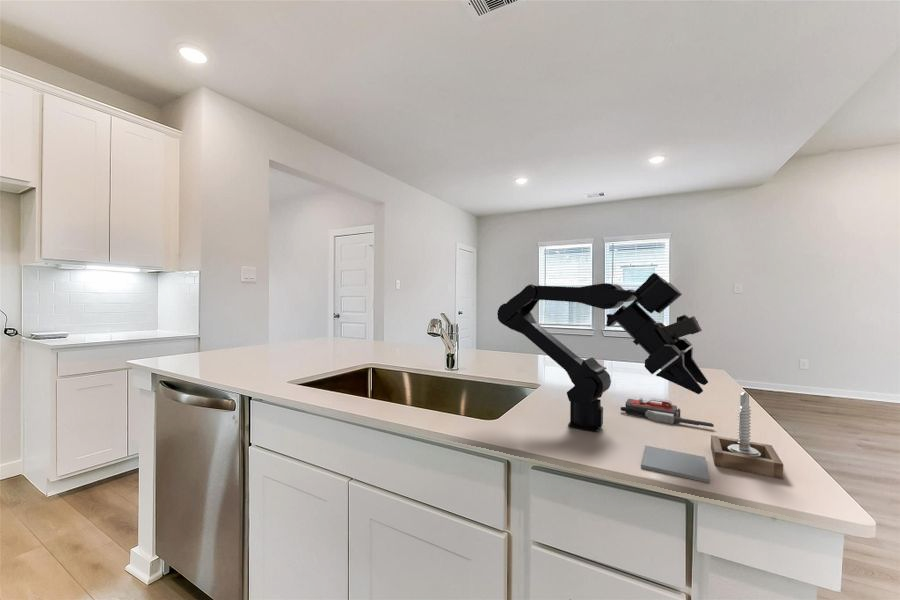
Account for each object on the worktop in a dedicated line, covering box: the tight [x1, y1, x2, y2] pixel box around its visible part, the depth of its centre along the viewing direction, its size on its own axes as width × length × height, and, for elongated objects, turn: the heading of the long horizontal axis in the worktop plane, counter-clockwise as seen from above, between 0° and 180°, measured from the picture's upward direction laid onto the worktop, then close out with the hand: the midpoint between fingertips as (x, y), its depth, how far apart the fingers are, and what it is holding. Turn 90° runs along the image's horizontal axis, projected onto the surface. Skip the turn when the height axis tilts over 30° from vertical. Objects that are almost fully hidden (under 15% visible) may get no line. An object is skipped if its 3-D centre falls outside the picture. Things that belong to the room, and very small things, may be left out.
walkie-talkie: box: [620, 397, 715, 428], centre depth 94 cm, size 9×4×20 cm
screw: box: [728, 391, 761, 457], centre depth 69 cm, size 13×5×5 cm
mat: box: [640, 444, 710, 484], centre depth 68 cm, size 10×10×1 cm
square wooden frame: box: [710, 434, 784, 480], centre depth 69 cm, size 9×9×2 cm
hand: (703, 388), depth 73 cm, fingers open, 9 cm apart
